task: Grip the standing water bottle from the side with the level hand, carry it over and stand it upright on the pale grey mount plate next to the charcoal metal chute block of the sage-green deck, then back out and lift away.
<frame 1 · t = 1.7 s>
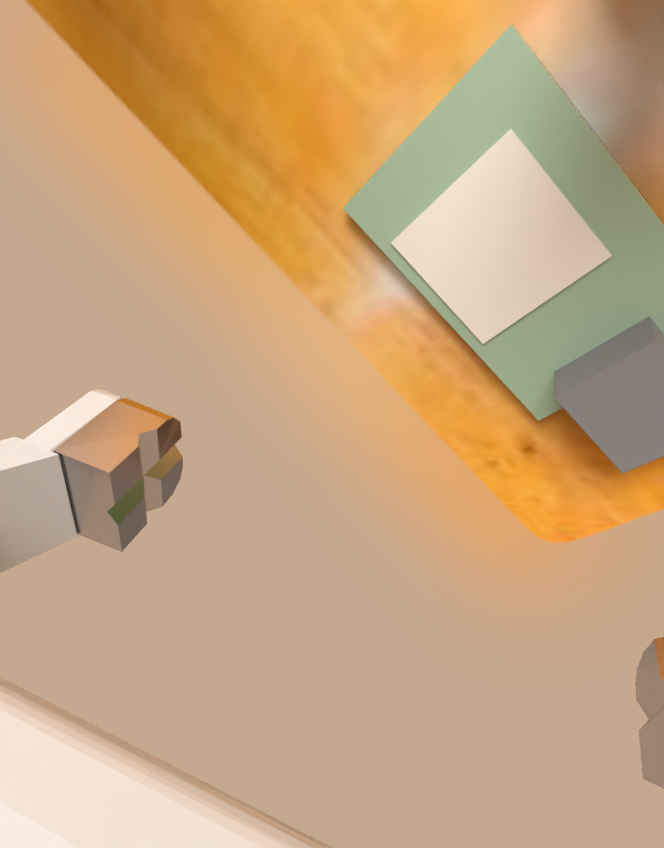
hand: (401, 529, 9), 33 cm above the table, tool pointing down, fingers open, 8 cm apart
deck: (528, 252, 37), on the table
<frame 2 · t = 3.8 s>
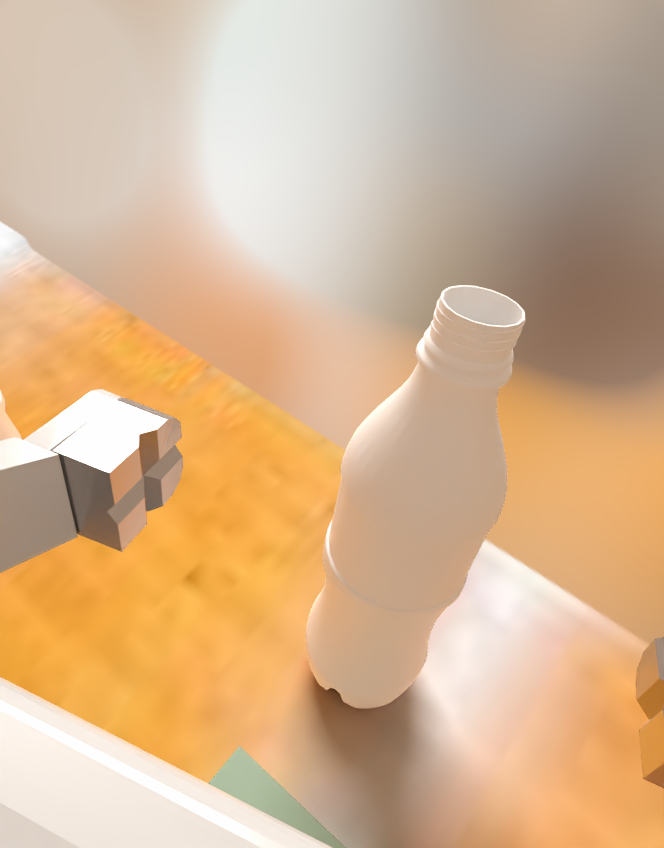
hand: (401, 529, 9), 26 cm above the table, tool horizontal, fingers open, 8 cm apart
water bottle: (356, 663, 34), on the table
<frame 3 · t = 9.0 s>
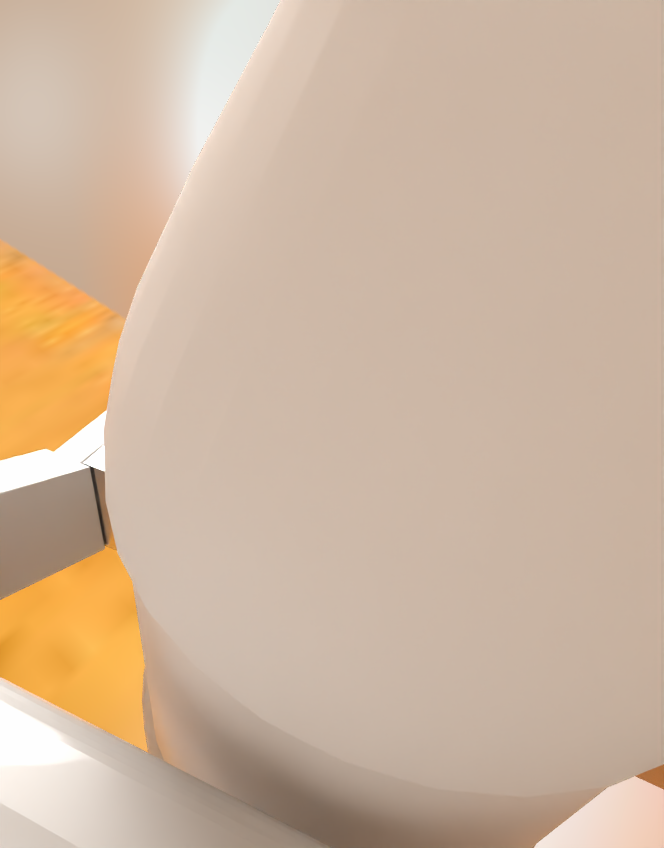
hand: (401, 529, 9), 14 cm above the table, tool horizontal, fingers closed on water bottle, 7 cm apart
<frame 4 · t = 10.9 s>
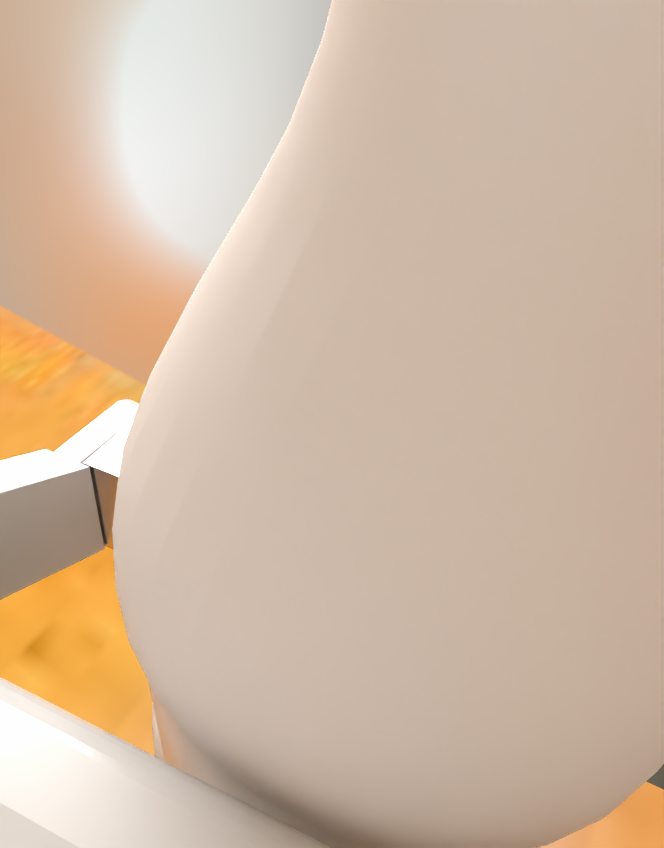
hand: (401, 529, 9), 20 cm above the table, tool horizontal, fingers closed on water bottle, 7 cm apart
water bottle: (296, 837, 18), point 5 cm above the table, touching gripper
when the fingers open (17 cm above the table, at t = 13.3 s): water bottle stays where it is, resting on deck.
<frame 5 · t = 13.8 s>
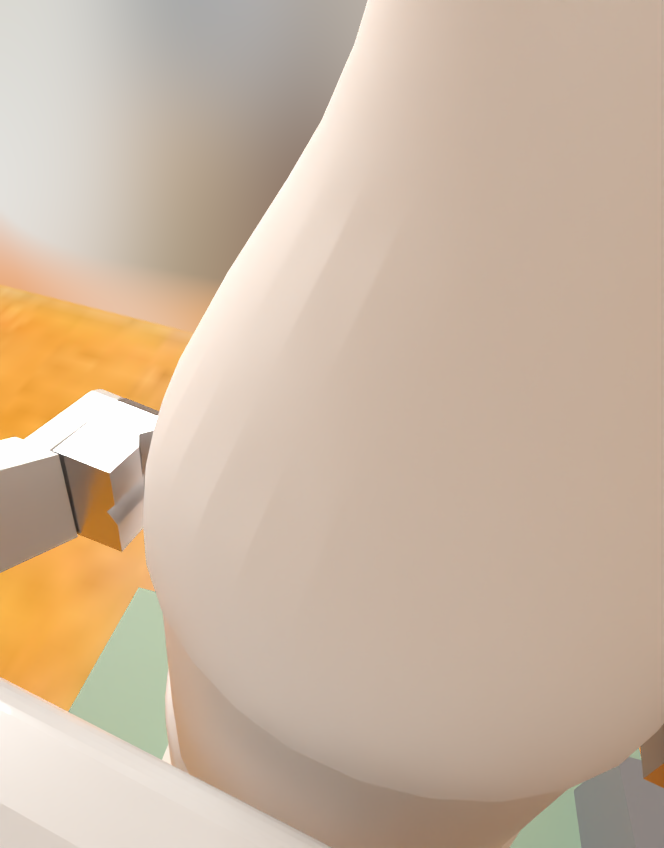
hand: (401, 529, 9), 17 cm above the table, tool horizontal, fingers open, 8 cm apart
water bottle: (298, 845, 18), point 2 cm above the table, touching deck
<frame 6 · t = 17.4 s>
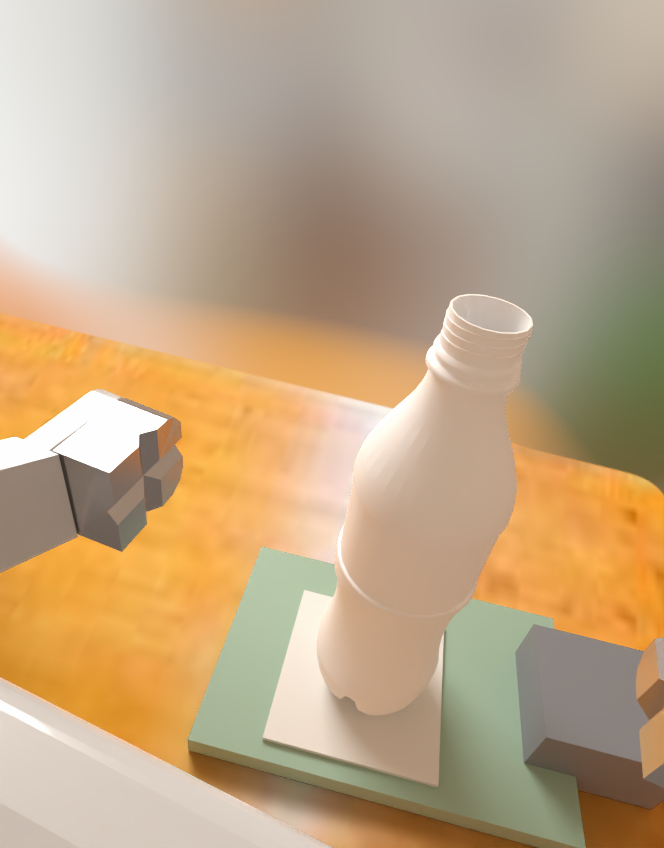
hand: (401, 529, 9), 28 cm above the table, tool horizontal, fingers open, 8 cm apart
water bottle: (367, 671, 35), point 2 cm above the table, touching deck
deck: (390, 682, 36), on the table
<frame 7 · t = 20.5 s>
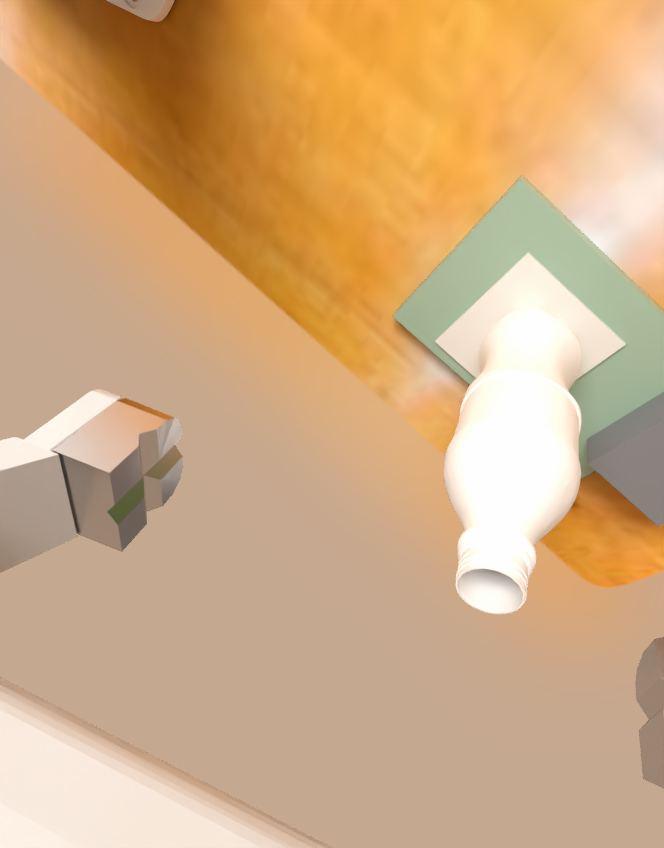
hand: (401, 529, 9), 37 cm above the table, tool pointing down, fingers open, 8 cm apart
water bottle: (531, 340, 43), point 2 cm above the table, touching deck
deck: (553, 341, 44), on the table
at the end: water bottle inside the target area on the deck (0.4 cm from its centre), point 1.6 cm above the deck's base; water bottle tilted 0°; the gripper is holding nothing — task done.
